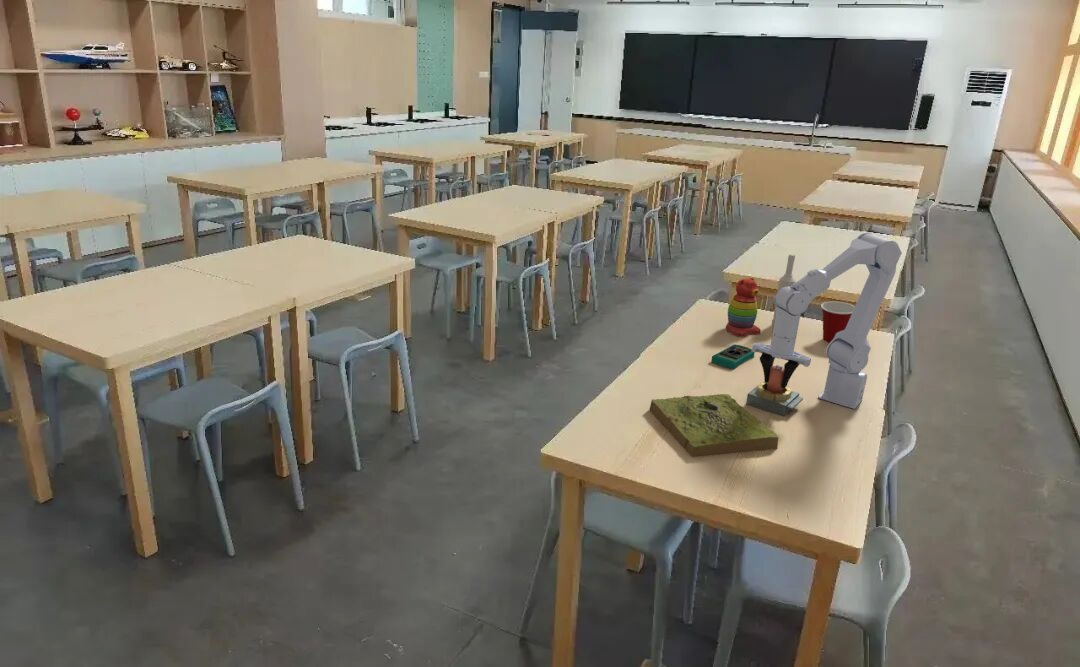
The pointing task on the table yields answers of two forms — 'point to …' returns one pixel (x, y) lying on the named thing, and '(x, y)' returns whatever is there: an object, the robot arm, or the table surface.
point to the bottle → (786, 278)
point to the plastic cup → (835, 318)
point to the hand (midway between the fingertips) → (775, 384)
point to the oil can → (775, 379)
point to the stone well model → (773, 399)
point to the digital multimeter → (733, 356)
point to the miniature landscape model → (712, 425)
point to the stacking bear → (743, 309)
